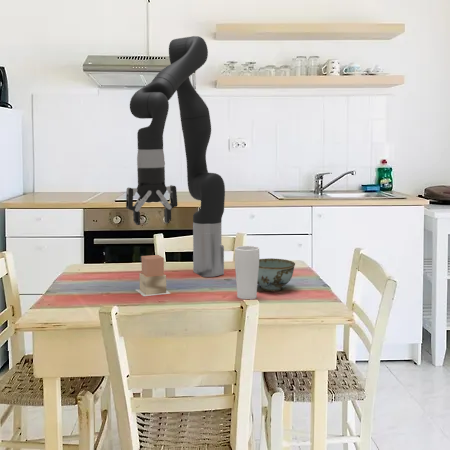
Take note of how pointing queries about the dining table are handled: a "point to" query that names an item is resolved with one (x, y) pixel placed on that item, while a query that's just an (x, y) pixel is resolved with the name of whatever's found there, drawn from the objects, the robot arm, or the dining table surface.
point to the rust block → (152, 265)
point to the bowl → (274, 273)
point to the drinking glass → (247, 271)
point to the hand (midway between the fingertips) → (152, 223)
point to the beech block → (152, 284)
